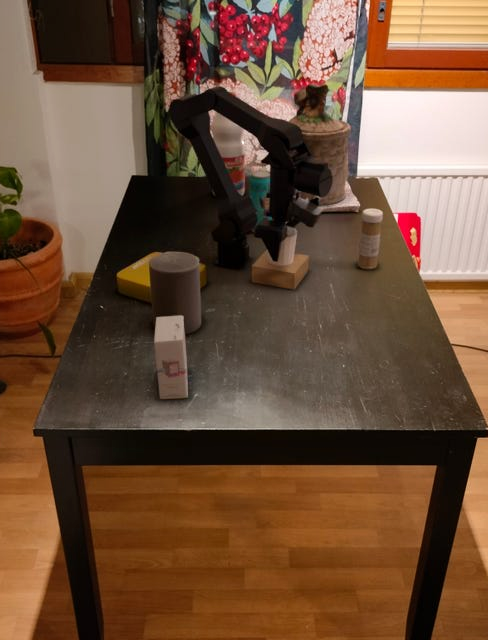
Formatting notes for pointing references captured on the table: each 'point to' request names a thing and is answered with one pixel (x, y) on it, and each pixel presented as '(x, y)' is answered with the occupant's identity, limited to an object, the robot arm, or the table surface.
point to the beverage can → (260, 193)
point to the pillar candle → (176, 288)
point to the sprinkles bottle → (370, 238)
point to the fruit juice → (231, 148)
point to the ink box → (171, 357)
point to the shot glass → (286, 249)
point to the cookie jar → (325, 145)
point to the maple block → (280, 271)
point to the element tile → (144, 279)
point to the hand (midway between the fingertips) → (280, 254)
